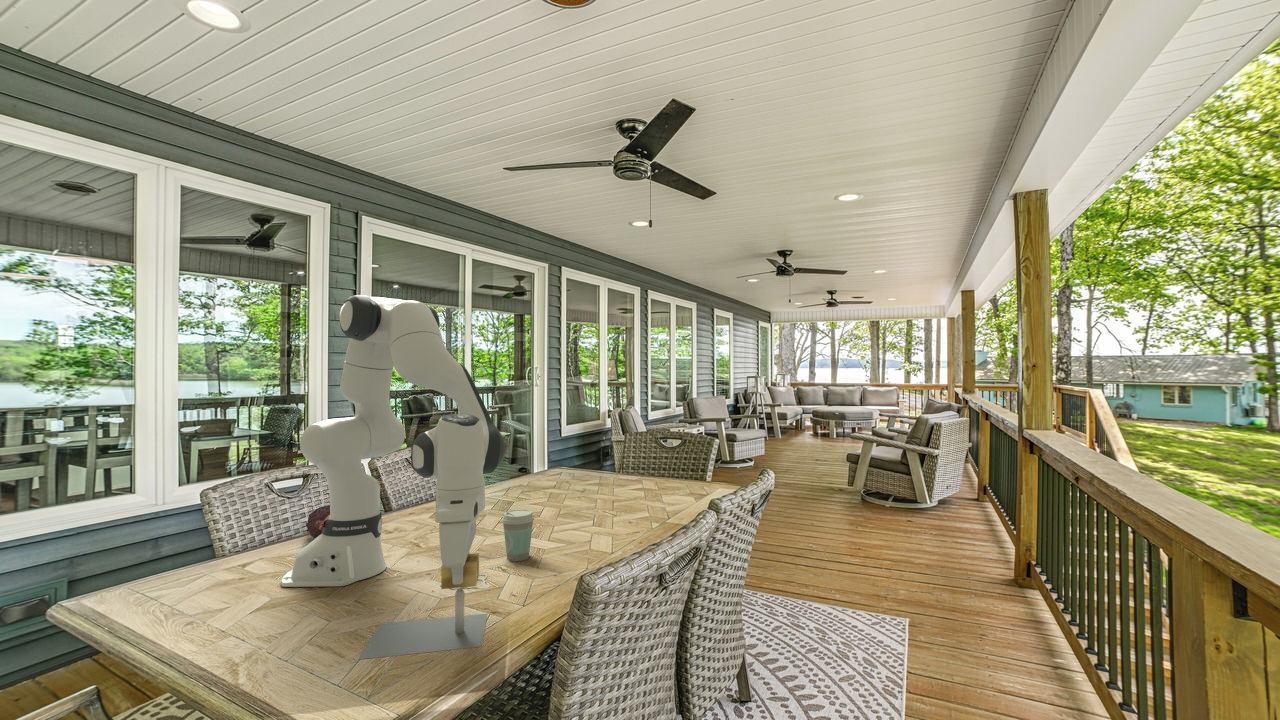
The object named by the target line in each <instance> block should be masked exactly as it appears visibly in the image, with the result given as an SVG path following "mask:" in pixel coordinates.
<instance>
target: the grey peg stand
mask: <svg viewBox="0 0 1280 720" xmlns="http://www.w3.org/2000/svg"><path fill="white" fill-rule="evenodd" d="M454 599H455V600H454V603H455V604H454V607H455V609H454V611H455V612H454V614H455V615H454V616H448V617H438V618H427V619H417V620H405V621H394V622H386V623H385V622H384V623H379V625H378V627H377V628H376V630H375V631H374V633H373V635H372V636H371V638H370V639H369V641H368V642H367V644H366V646H365V648H364V649H363V651H362V652H361V654H360V656H359V658H358V659H357V660H358V661H361V660H368V659H378V658H387V657H397V656H398V657H399V656H407V655H417V654H425V653H434V652H436V653H437V652H444V651H452V650H461V649H462V650H463V649H472V648H481V647H482V646H483V640H484V636H485V635H484V634H485V630H486V624H487V618H488V615H489V614H488V613H480V614H479V613H478V614H469V615H465V590H464V588H463V589H457V590H456V591H455V597H454Z"/></svg>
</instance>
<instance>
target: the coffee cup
mask: <svg viewBox="0 0 1280 720" xmlns="http://www.w3.org/2000/svg"><path fill="white" fill-rule="evenodd" d="M534 520H535V518H534V514H533V511H532V510H530V509H512V510H508V511H505V512H504V514H503V517H502V519H501V522H502V524H503V525H502V526H503V535H504V543H505V551H506V558H507V560H508V561H510V560H511V562H520V561H521V560H522V561H524V560H527V559H529V557H530V551H531V544H532V543H531V542H532V532H533V524H534V523H533V522H534Z"/></svg>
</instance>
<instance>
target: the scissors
mask: <svg viewBox="0 0 1280 720" xmlns="http://www.w3.org/2000/svg"><path fill="white" fill-rule="evenodd" d="M479 575H481V576H483V575H485V576H484V577H481V578H479V577H478V580H477V581H481V582H482V585H481V586H477V585H476V586H472V587H461V588H463V589H468V590H471V589H470V588H475V589H485V588H486V589H487V588H490V586H489V585H488V584H486V583H487V581H486V580H487V579H488V575H487V574H486V573H479ZM486 578H487V579H486ZM440 588H441V584H440ZM461 588H450V589H449V590H452V591H453V590H454V591H455V589H457V590H458V589H461ZM511 594H512V596H517V597H518V595H516V594H514V593H511Z"/></svg>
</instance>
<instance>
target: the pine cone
mask: <svg viewBox="0 0 1280 720" xmlns="http://www.w3.org/2000/svg"><path fill="white" fill-rule="evenodd" d="M329 515H330V504H328V505H323V506H319V507H318V508H316V509H314V510H312V512H311V513H310V514H309V515H308V517H307V522H306V525H305V526H306V528H307V529H306V531H307V532H308V533H309V535H310V536H311V537H313V540H314V539H315V538H317V537H318V536H319V535H321V534H322V529H319V528H320V526H319V525H320V524H321V523H322V522H323V521H324V520H325V518H326V517H328V516H329Z"/></svg>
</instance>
